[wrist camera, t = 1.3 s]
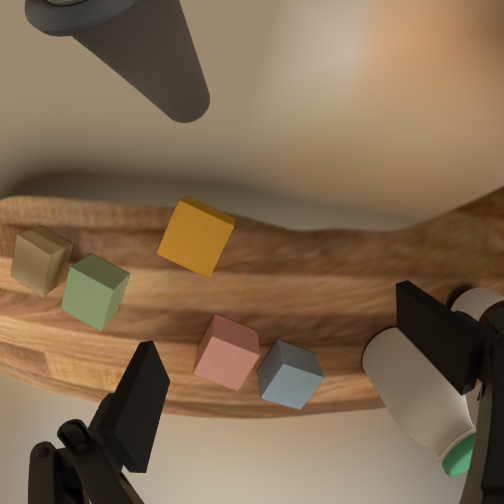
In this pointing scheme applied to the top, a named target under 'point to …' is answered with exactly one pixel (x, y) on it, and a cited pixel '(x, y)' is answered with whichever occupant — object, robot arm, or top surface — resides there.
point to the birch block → (40, 260)
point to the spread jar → (482, 307)
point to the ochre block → (196, 236)
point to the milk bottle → (420, 399)
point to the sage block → (94, 291)
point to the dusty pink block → (227, 353)
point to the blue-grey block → (289, 375)
